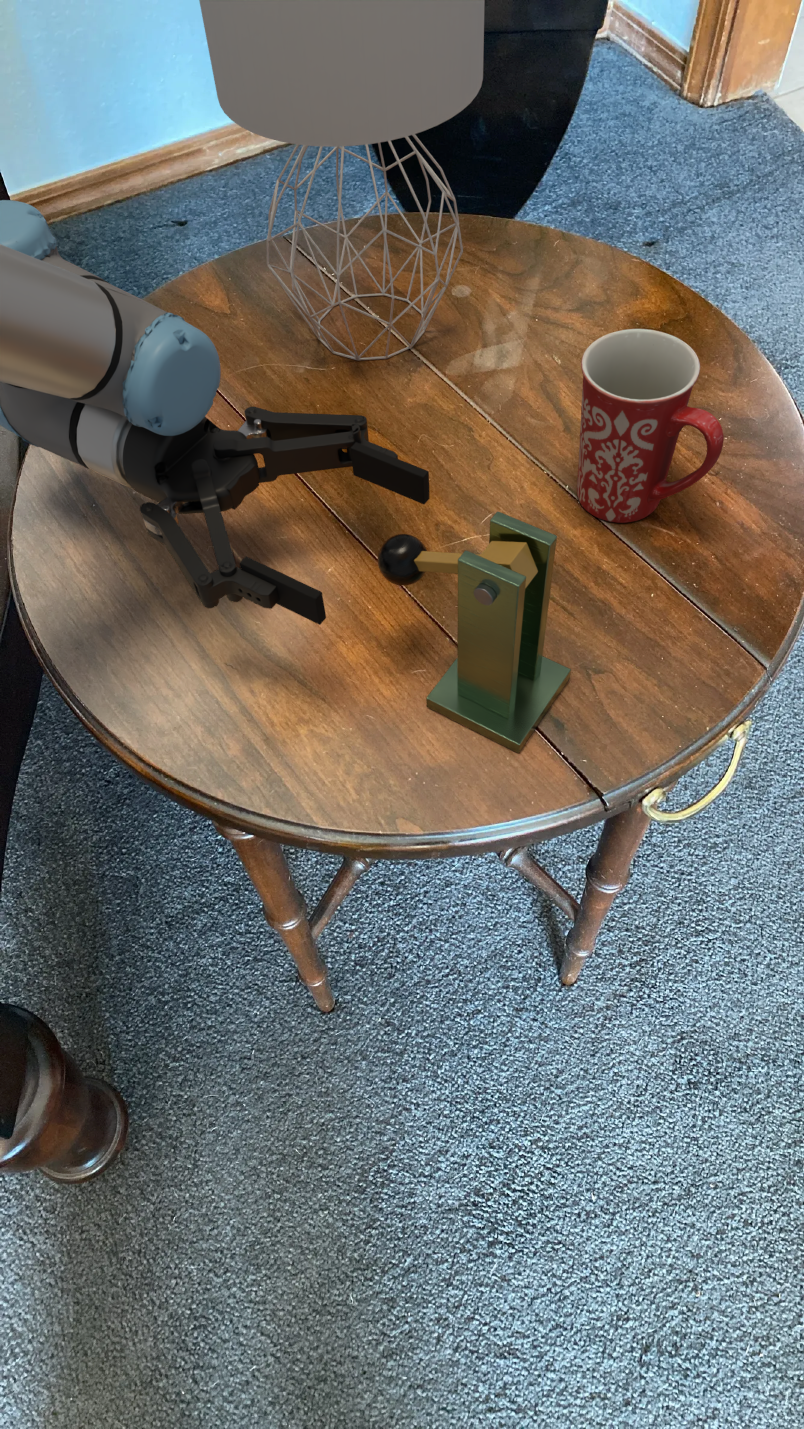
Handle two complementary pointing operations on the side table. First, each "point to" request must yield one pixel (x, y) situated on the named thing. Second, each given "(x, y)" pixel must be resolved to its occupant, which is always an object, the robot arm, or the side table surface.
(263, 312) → the side table surface
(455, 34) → the table lamp
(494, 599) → the switch bracket
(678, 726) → the side table surface
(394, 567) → the switch lever
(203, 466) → the robot arm
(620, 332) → the mug
